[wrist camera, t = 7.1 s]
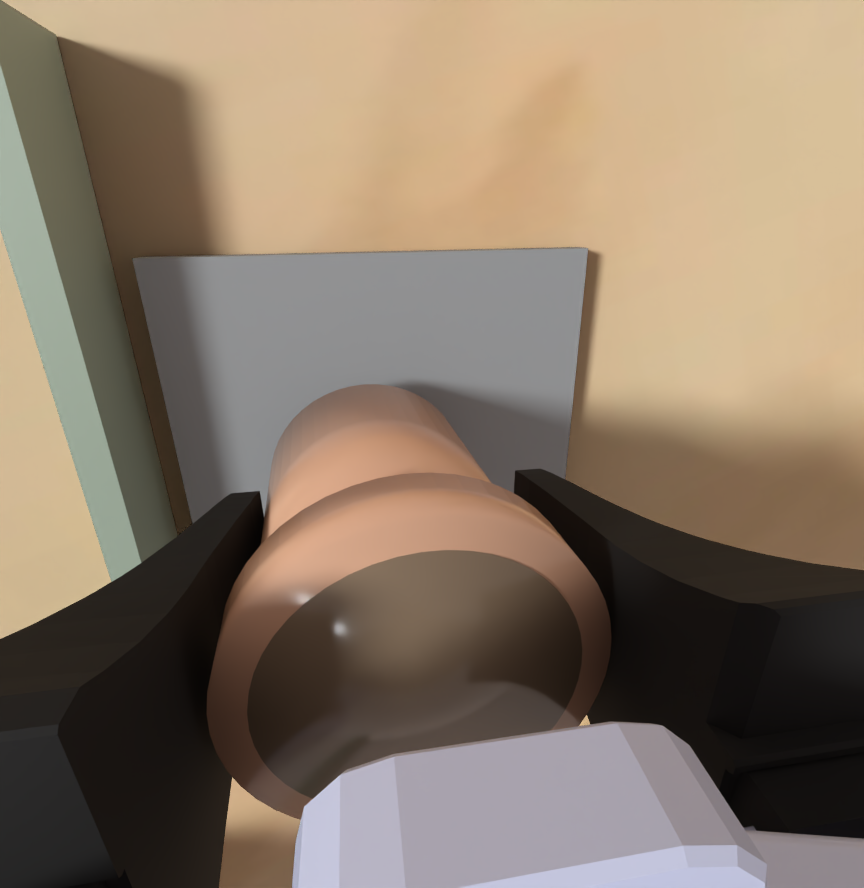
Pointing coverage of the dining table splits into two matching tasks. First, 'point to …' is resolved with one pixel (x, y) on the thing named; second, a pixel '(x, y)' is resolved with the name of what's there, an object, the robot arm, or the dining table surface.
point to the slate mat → (363, 350)
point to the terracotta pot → (394, 605)
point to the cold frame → (75, 298)
